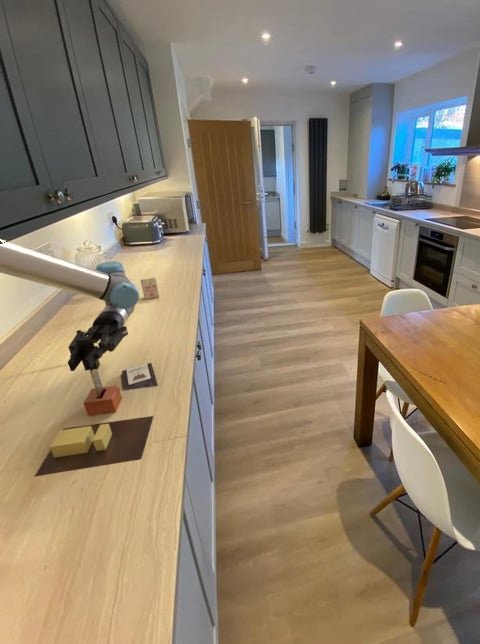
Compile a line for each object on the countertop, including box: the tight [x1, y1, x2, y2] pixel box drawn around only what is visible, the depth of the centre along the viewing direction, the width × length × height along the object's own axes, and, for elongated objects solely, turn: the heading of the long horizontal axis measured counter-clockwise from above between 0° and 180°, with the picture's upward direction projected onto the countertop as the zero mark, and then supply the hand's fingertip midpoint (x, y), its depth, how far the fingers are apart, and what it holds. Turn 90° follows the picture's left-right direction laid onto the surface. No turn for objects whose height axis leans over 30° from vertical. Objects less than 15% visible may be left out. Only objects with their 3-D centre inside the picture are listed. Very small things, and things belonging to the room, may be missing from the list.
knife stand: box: [83, 385, 123, 417], centre depth 90 cm, size 7×6×6 cm
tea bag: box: [140, 277, 160, 301], centre depth 163 cm, size 4×7×10 cm, turn 116°
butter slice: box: [93, 424, 112, 451], centre depth 78 cm, size 2×5×4 cm, turn 12°
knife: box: [75, 335, 105, 399], centre depth 85 cm, size 3×3×19 cm
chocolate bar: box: [121, 362, 159, 391], centre depth 101 cm, size 9×1×18 cm
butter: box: [49, 426, 95, 458], centre depth 77 cm, size 7×5×4 cm
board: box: [34, 415, 154, 478], centre depth 79 cm, size 22×14×2 cm, turn 102°
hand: (79, 365), depth 78 cm, fingers closed on knife, 3 cm apart
